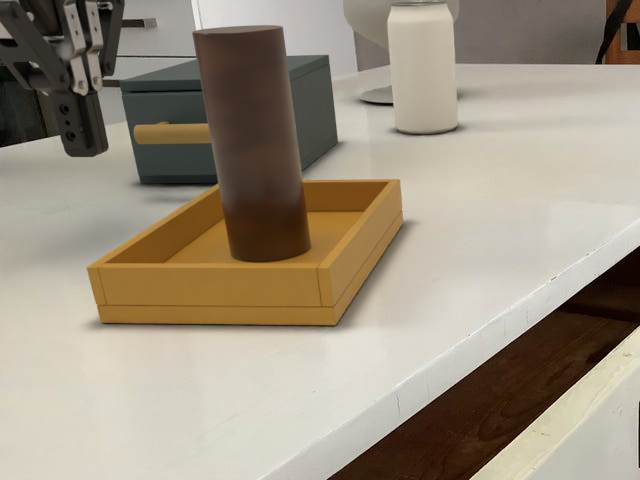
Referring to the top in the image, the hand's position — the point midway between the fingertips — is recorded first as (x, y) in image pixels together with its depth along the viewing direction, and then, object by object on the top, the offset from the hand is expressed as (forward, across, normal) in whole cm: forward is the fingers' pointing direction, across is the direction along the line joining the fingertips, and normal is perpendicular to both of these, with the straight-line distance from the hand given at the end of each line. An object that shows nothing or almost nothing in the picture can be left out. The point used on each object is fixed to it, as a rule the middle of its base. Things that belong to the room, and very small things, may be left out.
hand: (87, 154), depth 54 cm
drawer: (+5, -18, +2) cm, 19 cm away
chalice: (+6, -57, +9) cm, 58 cm away
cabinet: (+6, -22, +2) cm, 23 cm away
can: (+6, -36, +15) cm, 40 cm away
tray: (+5, +6, +14) cm, 16 cm away
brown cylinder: (+4, +6, +14) cm, 15 cm away
